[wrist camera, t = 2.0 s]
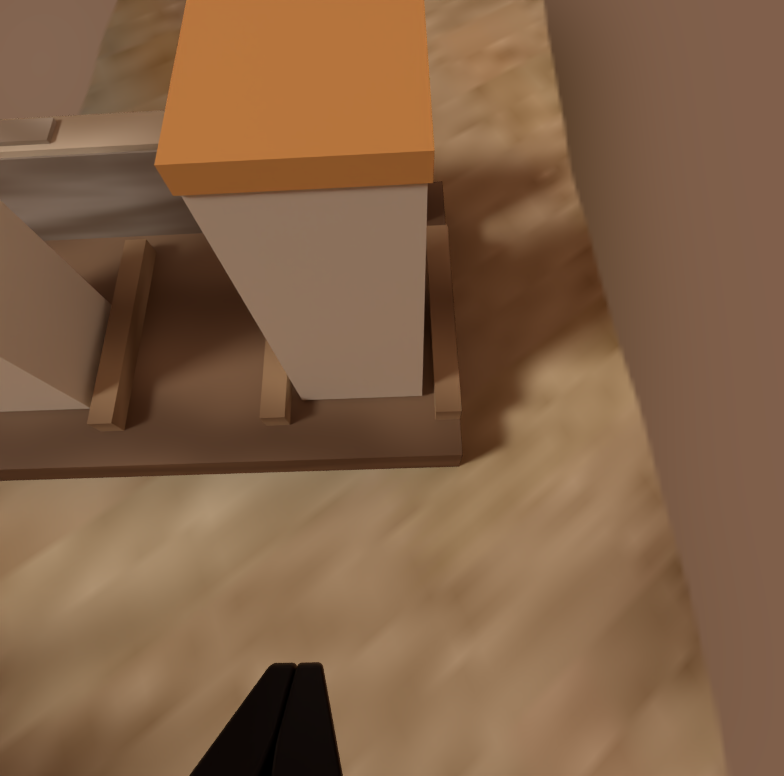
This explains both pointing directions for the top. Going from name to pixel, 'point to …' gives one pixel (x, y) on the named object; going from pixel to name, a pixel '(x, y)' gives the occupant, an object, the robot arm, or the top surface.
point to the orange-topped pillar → (312, 178)
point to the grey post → (45, 325)
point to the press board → (193, 331)
